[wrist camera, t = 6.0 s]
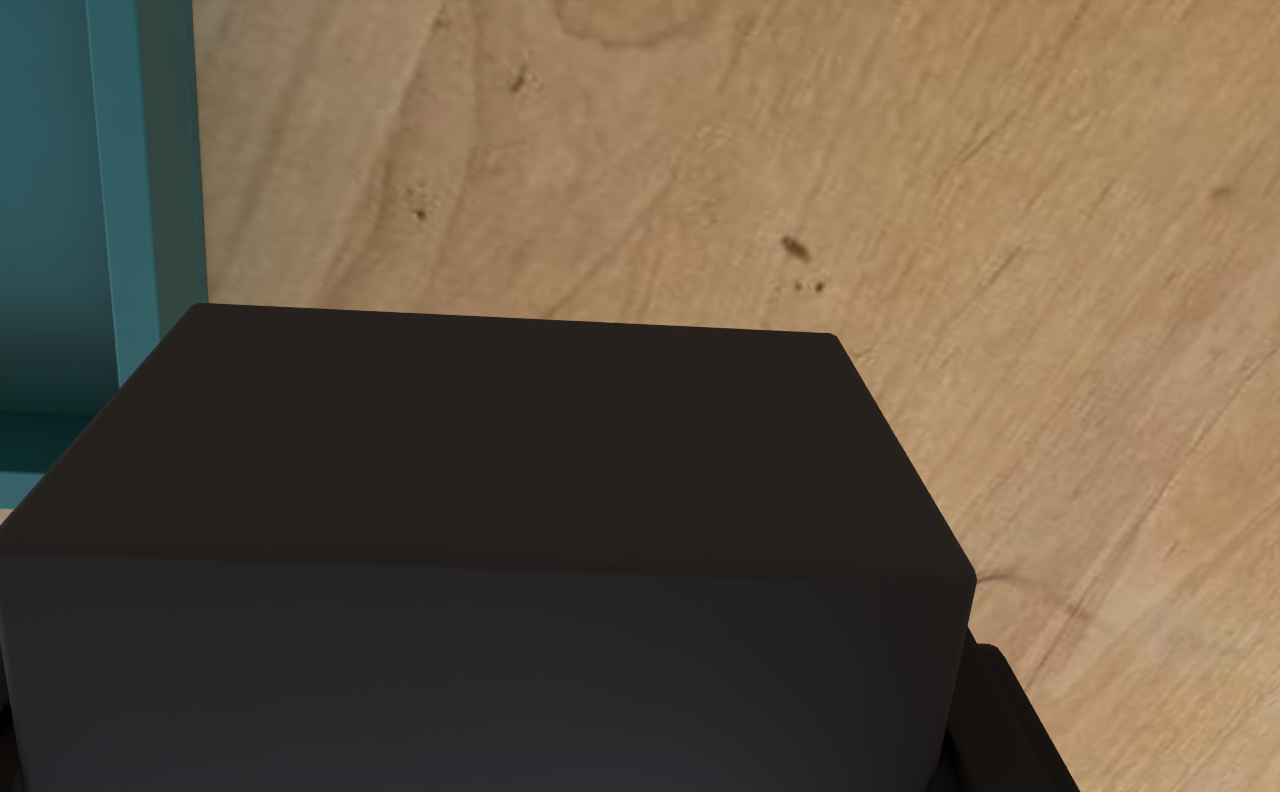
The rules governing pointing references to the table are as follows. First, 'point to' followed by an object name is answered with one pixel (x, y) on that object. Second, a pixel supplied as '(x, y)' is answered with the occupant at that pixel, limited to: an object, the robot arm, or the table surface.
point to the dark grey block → (481, 566)
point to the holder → (90, 211)
